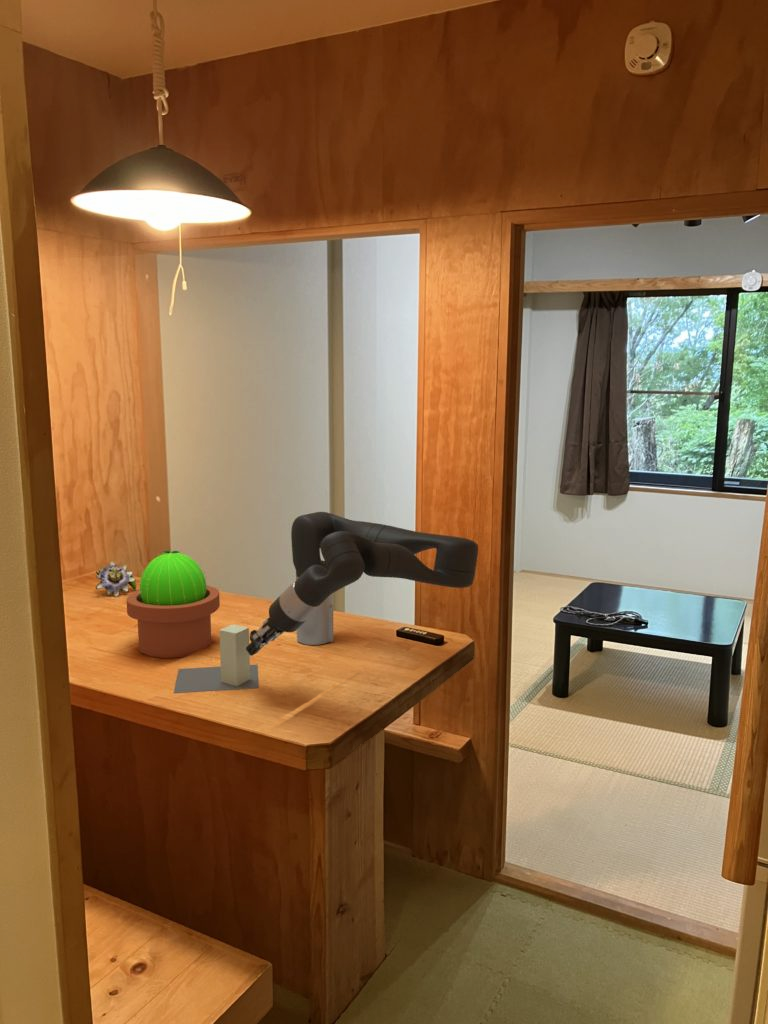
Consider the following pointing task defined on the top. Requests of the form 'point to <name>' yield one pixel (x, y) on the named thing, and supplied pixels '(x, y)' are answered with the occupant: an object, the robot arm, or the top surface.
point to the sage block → (234, 655)
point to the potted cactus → (173, 607)
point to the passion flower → (115, 579)
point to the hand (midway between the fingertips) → (250, 651)
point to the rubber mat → (210, 680)
